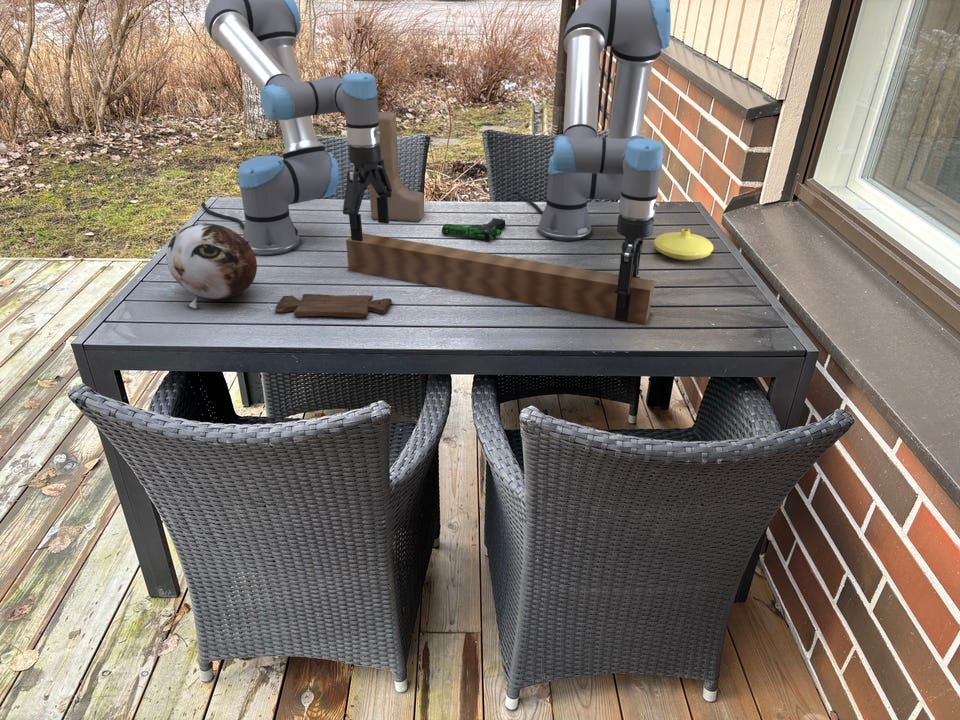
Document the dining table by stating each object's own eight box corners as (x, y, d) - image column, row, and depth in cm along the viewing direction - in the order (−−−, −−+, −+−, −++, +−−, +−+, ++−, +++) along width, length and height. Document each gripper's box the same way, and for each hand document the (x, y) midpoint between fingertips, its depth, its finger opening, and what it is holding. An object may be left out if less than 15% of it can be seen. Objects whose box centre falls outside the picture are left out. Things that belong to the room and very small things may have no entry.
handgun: (511, 219, 210) (493, 234, 198) (511, 228, 211) (492, 244, 199) (461, 212, 215) (440, 226, 203) (461, 221, 217) (440, 236, 204)
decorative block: (419, 222, 214) (416, 119, 199) (370, 219, 216) (364, 116, 200) (424, 214, 220) (422, 113, 205) (377, 211, 222) (371, 111, 207)
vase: (666, 239, 204) (669, 216, 201) (720, 252, 197) (724, 228, 193) (642, 256, 193) (646, 231, 190) (698, 270, 185) (703, 245, 182)
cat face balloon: (130, 285, 161) (164, 203, 163) (192, 308, 177) (221, 233, 178) (195, 307, 151) (229, 220, 152) (254, 330, 166) (285, 250, 168)
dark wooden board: (386, 320, 160) (392, 301, 168) (386, 314, 159) (392, 294, 168) (271, 316, 160) (283, 297, 169) (270, 309, 159) (282, 290, 168)
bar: (348, 270, 183) (345, 239, 179) (359, 262, 187) (357, 232, 183) (645, 324, 160) (650, 290, 156) (649, 314, 164) (654, 280, 160)
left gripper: (351, 158, 156) (359, 250, 166) (402, 134, 176) (406, 217, 187) (321, 155, 158) (331, 246, 169) (375, 132, 178) (381, 214, 189)
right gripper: (646, 232, 143) (632, 334, 155) (661, 204, 158) (647, 299, 170) (609, 227, 145) (598, 327, 157) (627, 200, 160) (615, 294, 172)
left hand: (370, 231), depth 178 cm, fingers open, 13 cm apart
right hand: (623, 312), depth 163 cm, fingers closed on bar, 6 cm apart
